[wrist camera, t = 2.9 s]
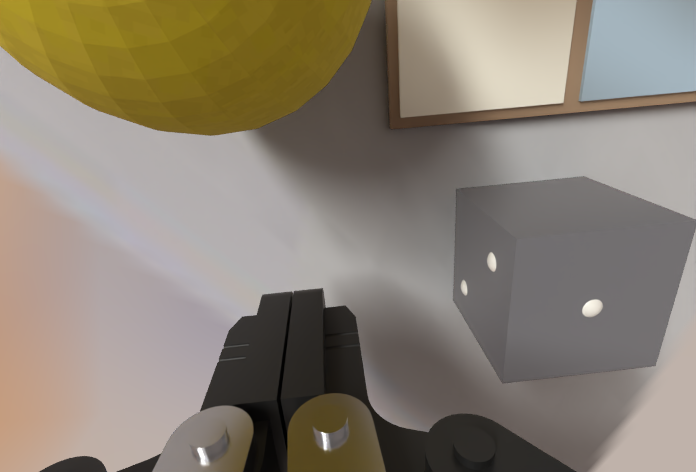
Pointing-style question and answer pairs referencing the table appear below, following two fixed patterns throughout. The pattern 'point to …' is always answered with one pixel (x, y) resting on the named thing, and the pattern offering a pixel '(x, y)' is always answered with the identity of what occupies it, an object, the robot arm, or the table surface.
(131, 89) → the lemon
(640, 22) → the board
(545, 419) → the table surface
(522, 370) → the die
